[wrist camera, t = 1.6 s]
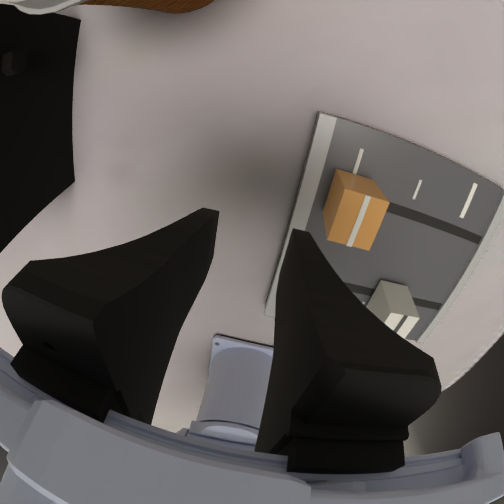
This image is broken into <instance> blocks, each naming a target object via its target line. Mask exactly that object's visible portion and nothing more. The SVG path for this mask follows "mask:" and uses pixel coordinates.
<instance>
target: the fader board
mask: <svg viewBox="0 0 504 504" xmlns="http://www.w3.org/2000/svg"><path fill="white" fill-rule="evenodd" d="M336 169H340V170H343V171H346V172H350V173H353V174H356V175H360V176H363V177H366V178H369V179H372V180H374V181H375V182H376V184H377V185H378V186H379V188H380V189H381V191H382V192H383V194H384V195H385V196H386V198H387V199H388V201H389V202H390V203H389V205H388V208H387V210H386V213H385V215H384V218H383V220H382V222H381V225H380V227H379V230H378V232H377V234H376V237H375V239H374V241H373V243H372V246H371V248H370V250H369V251H368V250H364V249H360V248H357V247H353V246H352V247H349V246H346V245H345V244H341V243H337V242H333V241H329V240H327V236H326V230H325V224H324V218H323V209H324V206H325V203H326V200H327V196H328V193H329V190H330V187H331V184H332V180H333V177H334V174H335V170H336ZM503 216H504V190H503V189H502V188H500V187H499V186H497V185H495V184H494V183H492V182H490V181H489V180H487V179H485V178H483V177H482V176H480V175H478V174H476V173H474V172H472V171H471V170H469V169H467V168H465V167H463V166H461V165H459V164H457V163H455V162H453V161H451V160H449V159H447V158H445V157H443V156H441V155H438V154H436V153H434V152H432V151H430V150H427V149H425V148H423V147H421V146H418V145H416V144H414V143H411V142H409V141H406V140H404V139H401V138H399V137H396V136H394V135H391V134H388V133H386V132H383V131H380V130H377V129H375V128H372V127H369V126H366V125H363V124H360V123H357V122H354V121H351V120H347V119H344V118H341V117H338V116H334V115H331V114H327V113H324V112H320V111H318V114H317V118H316V122H315V126H314V130H313V134H312V138H311V141H310V145H309V149H308V153H307V157H306V161H305V165H304V169H303V172H302V176H301V180H300V184H299V187H298V191H297V195H296V199H295V202H294V206H293V210H292V213H291V217H290V220H289V224H288V228H287V231H286V235H285V238H284V242H283V245H282V249H281V253H280V256H279V259H278V263H277V266H276V270H275V273H274V277H273V280H272V284H271V287H270V290H269V294H268V297H267V300H266V304H265V311H264V316H269V317H273V318H275V304H276V291H277V285H278V279H279V273H280V269H281V266H282V263H283V259H284V256H285V253H286V249H287V246H288V243H289V239H290V236H291V232H292V229H293V228H295V229H299V230H303V231H307V232H310V234H311V235H312V237H313V239H314V240H315V242H316V243H317V245H318V247H319V248H320V250H321V251H322V253H323V254H324V256H325V258H326V259H327V261H328V262H329V263H330V265H331V266H332V268H333V269H334V270H335V272H336V273H337V274H338V276H339V277H340V278H341V280H342V281H343V282H344V283H345V285H346V286H347V287H348V288H349V289H350V290H351V291H352V293H353V294H354V295H355V296H356V297H357V298H358V299H359V300H360V301H361V302H362V303H363V304H364V305H365V306H367V304H368V302H369V301H370V299H371V297H372V295H373V294H374V292H375V290H376V288H377V286H378V284H379V283H380V281H381V280H383V281H387V282H391V283H396V284H400V285H404V286H408V289H409V291H410V294H411V296H412V299H413V301H414V304H415V307H416V309H417V312H418V315H419V317H420V318H419V320H418V321H417V323H416V324H415V325H414V327H413V328H412V330H411V331H410V332H409V334H408V335H407V336H406V338H405V339H410V340H416V343H423V344H424V343H425V341H426V340H427V339H428V338H429V336H430V335H431V334H432V333H433V331H434V330H435V329H436V327H437V326H438V325H439V323H440V322H441V321H442V319H443V318H444V317H445V315H446V314H447V312H448V311H449V310H450V308H451V307H452V305H453V304H454V302H455V301H456V299H457V298H458V296H459V295H460V293H461V292H462V290H463V289H464V287H465V286H466V284H467V283H468V281H469V279H470V278H471V276H472V275H473V273H474V271H475V270H476V268H477V266H478V264H479V263H480V261H481V259H482V257H483V256H484V254H485V252H486V250H487V248H488V246H489V245H490V243H491V241H492V239H493V237H494V235H495V233H496V231H497V229H498V227H499V225H500V223H501V221H502V218H503Z"/></svg>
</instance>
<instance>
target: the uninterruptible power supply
mask: <svg viewBox="0 0 504 504" xmlns="http://www.w3.org/2000/svg"><path fill="white" fill-rule="evenodd" d="M80 22H81V20H79V19H76V18H72V17H68V16H64V15H60V14H56V13H46V14H27V13H25V12H22V11H20V10H19V9H18V8H17V7H16V6H14V5H7V4H0V253H1V252H2V250H3V249H4V248H5V247H6V246H7V245H8V244H9V243H10V242H11V241H12V240H13V239H14V237H15V236H16V235H17V234H18V233H19V232H20V231H21V230H22V229H23V228H24V227H25V226H26V225H27V224H28V223H29V222H30V221H31V220H32V219H33V218H34V217H35V216H36V215H37V214H38V213H40V212H41V211H42V210H43V209H44V208H45V207H46V206H47V205H48V204H49V203H50V202H52V201H53V200H54V199H55V198H56V197H57V196H58V195H59V194H61V193H62V192H63V191H64V190H65V189H66V188H68V187H69V186H70V185H71V184H72V183H74V182H75V177H74V164H73V143H72V101H73V81H74V68H75V58H76V49H77V42H78V35H79V28H80Z"/></svg>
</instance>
